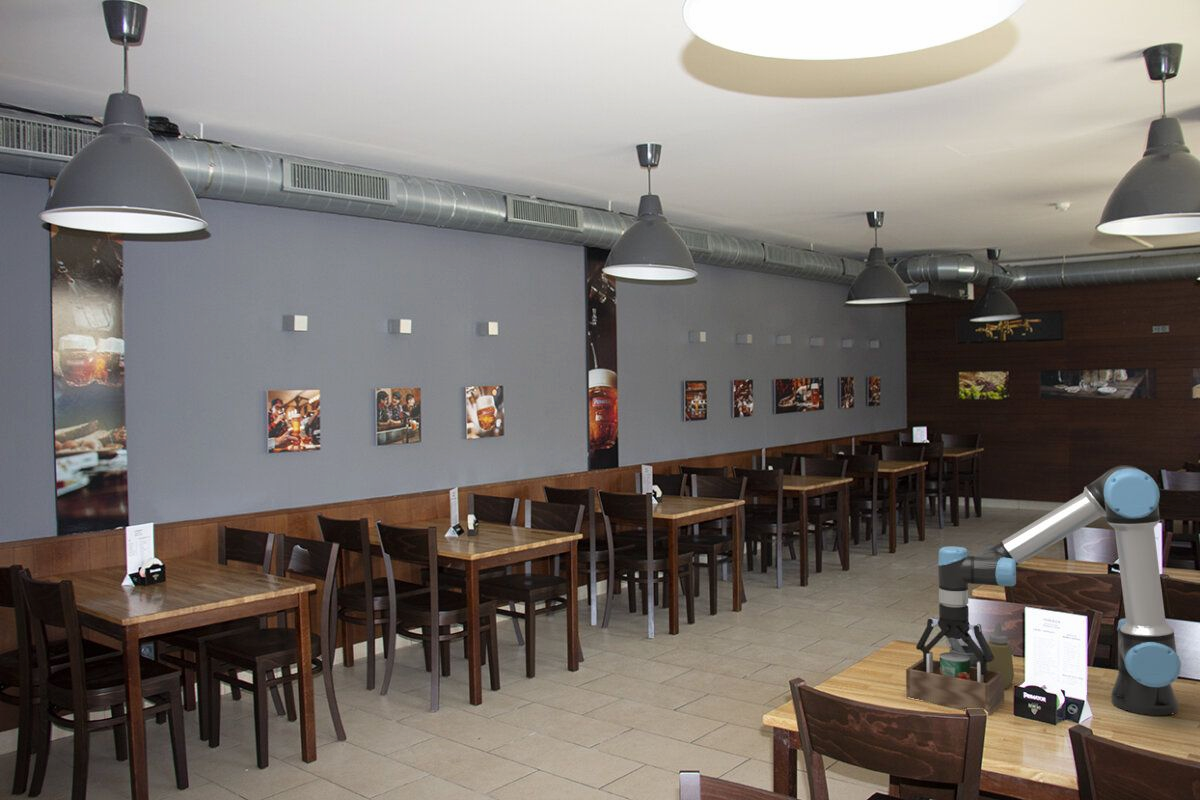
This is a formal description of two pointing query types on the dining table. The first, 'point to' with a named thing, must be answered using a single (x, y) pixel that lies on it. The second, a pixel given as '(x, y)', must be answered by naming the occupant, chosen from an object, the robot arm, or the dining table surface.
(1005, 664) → the squeeze bottle
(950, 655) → the canned tomato
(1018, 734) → the dining table surface
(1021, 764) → the dining table surface
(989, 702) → the wooden box
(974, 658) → the mortar and pestle
